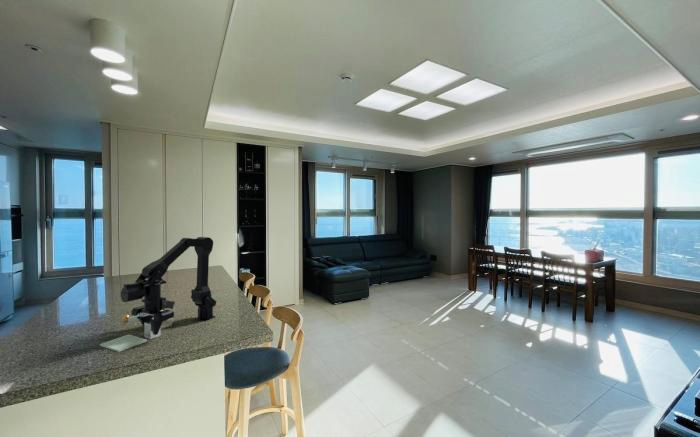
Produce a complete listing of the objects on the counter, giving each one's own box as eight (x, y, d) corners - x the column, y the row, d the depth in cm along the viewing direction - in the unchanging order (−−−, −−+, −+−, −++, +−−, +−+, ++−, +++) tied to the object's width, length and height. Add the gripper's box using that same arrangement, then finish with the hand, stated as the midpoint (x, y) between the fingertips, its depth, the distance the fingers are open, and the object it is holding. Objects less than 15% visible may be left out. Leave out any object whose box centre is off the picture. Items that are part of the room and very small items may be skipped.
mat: (147, 341, 116) (147, 339, 116) (118, 351, 107) (118, 350, 107) (128, 335, 120) (128, 334, 120) (99, 345, 111) (99, 344, 111)
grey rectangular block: (160, 335, 122) (160, 320, 122) (150, 338, 118) (150, 324, 118) (154, 333, 123) (154, 319, 123) (144, 337, 120) (144, 322, 119)
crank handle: (169, 316, 137) (169, 306, 137) (168, 321, 131) (168, 310, 131) (123, 322, 129) (123, 312, 129) (120, 327, 123) (120, 316, 123)
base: (177, 323, 135) (177, 318, 135) (156, 330, 126) (156, 326, 126) (163, 319, 139) (163, 315, 139) (141, 327, 130) (141, 322, 130)
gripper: (186, 293, 124) (186, 330, 124) (157, 289, 131) (157, 323, 132) (160, 300, 114) (159, 340, 114) (130, 295, 121) (130, 332, 121)
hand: (152, 333), depth 121 cm, fingers open, 4 cm apart
